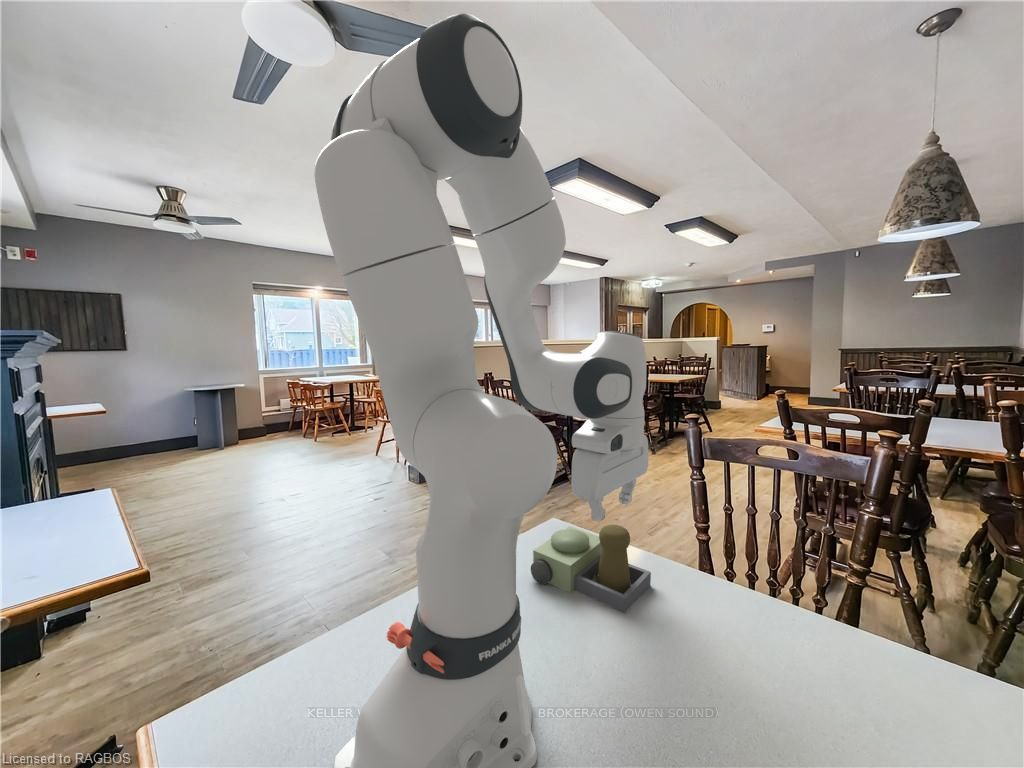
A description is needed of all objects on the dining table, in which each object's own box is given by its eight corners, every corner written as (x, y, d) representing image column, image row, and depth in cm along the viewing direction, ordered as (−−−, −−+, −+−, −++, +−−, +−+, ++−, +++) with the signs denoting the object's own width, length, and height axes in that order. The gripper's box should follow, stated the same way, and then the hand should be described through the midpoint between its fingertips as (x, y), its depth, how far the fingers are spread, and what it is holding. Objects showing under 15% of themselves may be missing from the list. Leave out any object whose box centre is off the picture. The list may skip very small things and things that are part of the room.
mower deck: (618, 621, 67) (619, 584, 66) (529, 578, 78) (529, 546, 77) (655, 579, 77) (657, 546, 77) (572, 547, 89) (573, 518, 88)
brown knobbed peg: (624, 603, 71) (625, 540, 70) (590, 590, 74) (591, 530, 73) (636, 584, 76) (637, 525, 74) (603, 573, 79) (604, 517, 78)
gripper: (626, 419, 81) (623, 489, 83) (565, 438, 66) (562, 524, 67) (659, 424, 77) (655, 498, 79) (602, 445, 62) (598, 537, 63)
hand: (612, 510), depth 73 cm, fingers open, 8 cm apart
